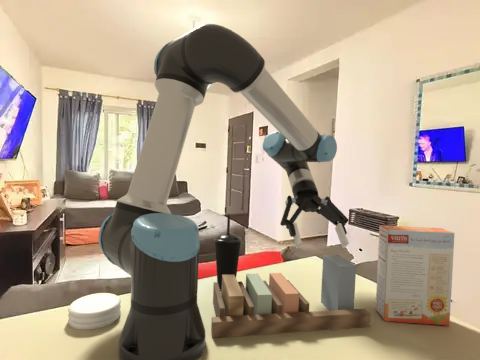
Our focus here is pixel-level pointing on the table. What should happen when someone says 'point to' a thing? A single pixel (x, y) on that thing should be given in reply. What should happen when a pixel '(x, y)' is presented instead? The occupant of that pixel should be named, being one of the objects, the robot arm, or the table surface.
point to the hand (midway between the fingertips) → (322, 246)
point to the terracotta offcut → (284, 292)
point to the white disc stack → (94, 311)
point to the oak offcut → (232, 296)
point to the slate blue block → (338, 283)
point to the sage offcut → (258, 294)
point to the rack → (281, 317)
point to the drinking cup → (227, 253)
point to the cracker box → (414, 274)
